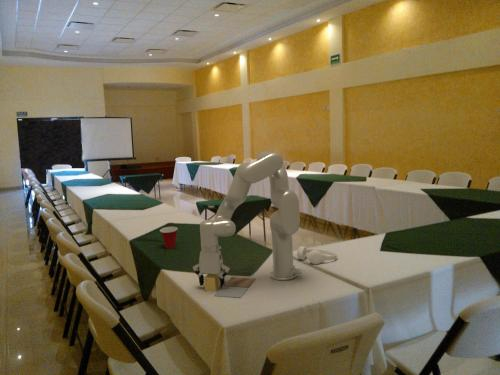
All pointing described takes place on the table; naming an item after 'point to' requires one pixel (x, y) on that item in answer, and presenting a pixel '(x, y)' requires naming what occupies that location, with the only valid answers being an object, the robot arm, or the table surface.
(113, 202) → the table surface
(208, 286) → the mustard block
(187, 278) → the table surface
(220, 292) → the grey mat
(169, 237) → the plastic cup
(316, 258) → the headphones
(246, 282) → the walnut mat
